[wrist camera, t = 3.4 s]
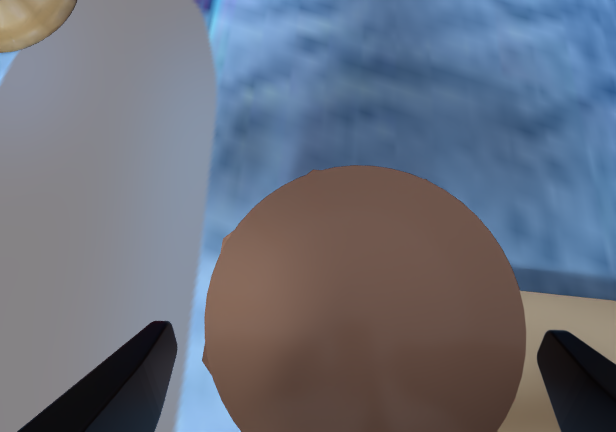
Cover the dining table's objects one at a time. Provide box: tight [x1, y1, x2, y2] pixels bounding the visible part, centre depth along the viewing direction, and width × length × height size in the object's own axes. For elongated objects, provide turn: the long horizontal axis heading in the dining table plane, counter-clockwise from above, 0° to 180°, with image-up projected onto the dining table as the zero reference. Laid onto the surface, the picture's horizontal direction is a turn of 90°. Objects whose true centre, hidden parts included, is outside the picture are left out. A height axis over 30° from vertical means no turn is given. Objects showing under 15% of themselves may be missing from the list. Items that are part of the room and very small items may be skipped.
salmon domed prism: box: [202, 165, 526, 432], centre depth 13 cm, size 7×7×10 cm
